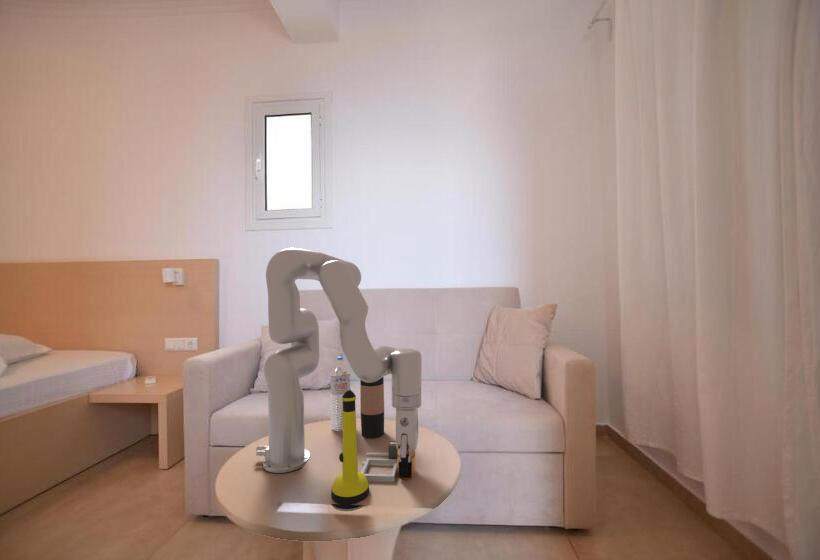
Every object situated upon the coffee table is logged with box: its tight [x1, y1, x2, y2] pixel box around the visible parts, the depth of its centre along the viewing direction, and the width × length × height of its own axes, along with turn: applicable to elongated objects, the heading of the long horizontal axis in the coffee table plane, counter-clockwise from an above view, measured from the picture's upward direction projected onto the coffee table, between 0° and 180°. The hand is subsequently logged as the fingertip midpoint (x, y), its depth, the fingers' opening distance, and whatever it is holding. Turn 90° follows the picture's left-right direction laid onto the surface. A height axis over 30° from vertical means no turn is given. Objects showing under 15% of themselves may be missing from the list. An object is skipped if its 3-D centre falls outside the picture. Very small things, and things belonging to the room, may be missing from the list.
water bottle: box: [329, 356, 351, 432], centre depth 120 cm, size 7×7×25 cm
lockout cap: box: [397, 447, 416, 480], centre depth 89 cm, size 4×4×6 cm
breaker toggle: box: [388, 440, 398, 459], centre depth 96 cm, size 3×3×5 cm
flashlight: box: [330, 389, 370, 512], centre depth 82 cm, size 25×9×9 cm
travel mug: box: [359, 376, 385, 440], centre depth 114 cm, size 8×8×20 cm
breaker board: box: [360, 452, 398, 483], centre depth 93 cm, size 14×14×3 cm
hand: (406, 470), depth 89 cm, fingers closed on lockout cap, 4 cm apart
